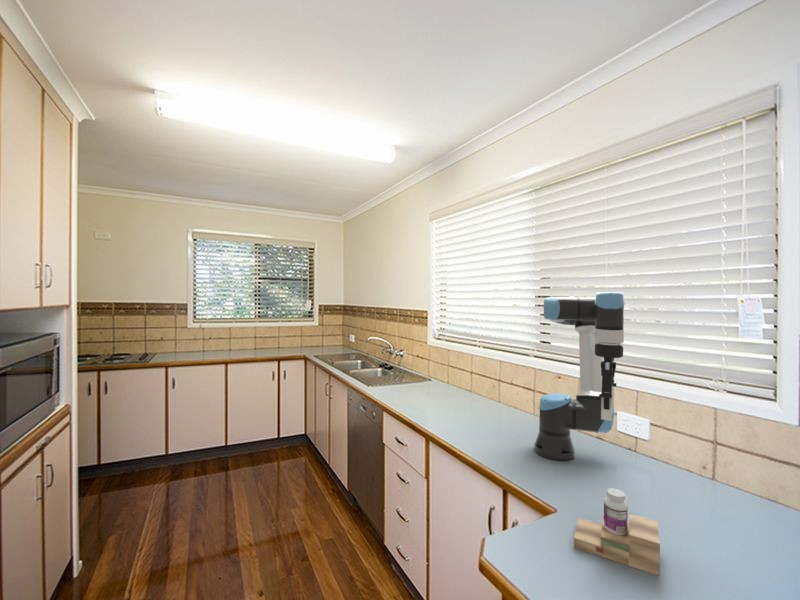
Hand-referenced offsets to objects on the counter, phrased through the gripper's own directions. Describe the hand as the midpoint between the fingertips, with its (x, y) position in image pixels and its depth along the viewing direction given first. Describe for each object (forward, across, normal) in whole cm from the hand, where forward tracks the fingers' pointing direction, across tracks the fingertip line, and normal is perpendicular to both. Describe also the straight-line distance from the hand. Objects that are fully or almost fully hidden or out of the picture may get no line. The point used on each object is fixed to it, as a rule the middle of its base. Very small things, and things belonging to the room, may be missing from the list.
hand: (607, 413), depth 113 cm
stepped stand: (+29, +20, +3) cm, 35 cm away
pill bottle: (+24, +20, +3) cm, 31 cm away
